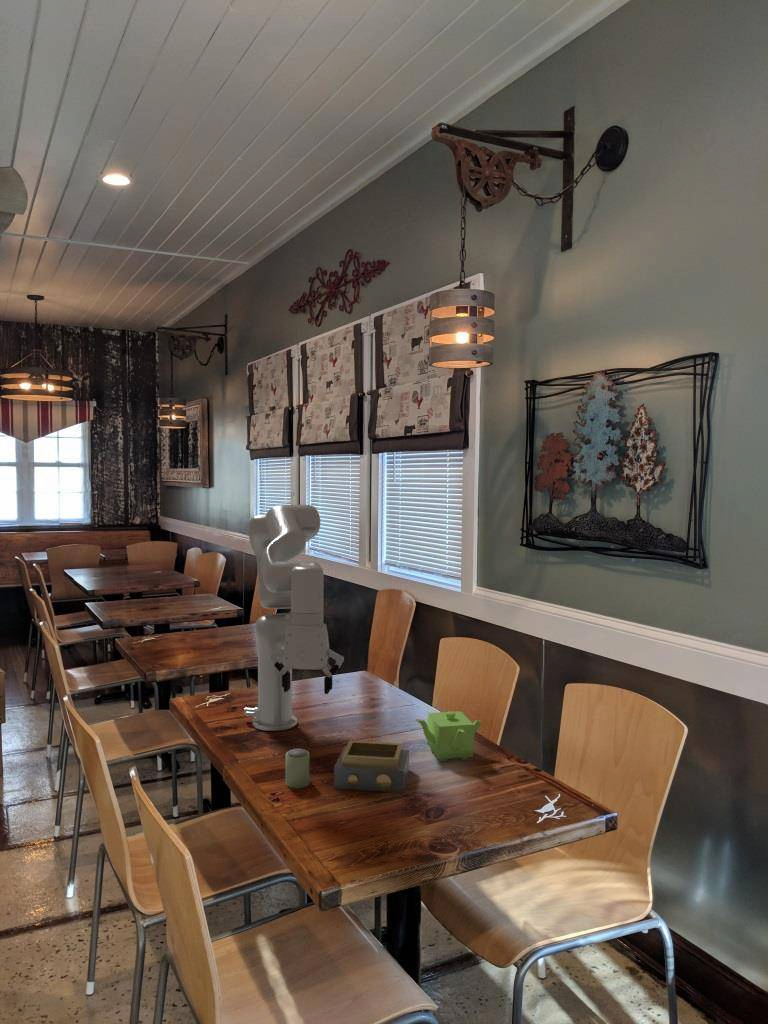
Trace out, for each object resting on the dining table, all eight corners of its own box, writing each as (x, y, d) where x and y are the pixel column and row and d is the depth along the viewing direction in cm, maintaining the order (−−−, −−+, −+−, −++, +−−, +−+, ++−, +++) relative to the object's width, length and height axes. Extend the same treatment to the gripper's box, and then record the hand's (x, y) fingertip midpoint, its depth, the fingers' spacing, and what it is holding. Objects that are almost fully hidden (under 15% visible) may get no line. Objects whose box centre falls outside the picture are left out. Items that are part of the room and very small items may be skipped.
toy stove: (333, 790, 171) (333, 760, 171) (344, 765, 185) (344, 738, 185) (402, 795, 169) (403, 764, 169) (409, 770, 183) (409, 741, 183)
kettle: (462, 771, 183) (463, 726, 182) (411, 759, 190) (411, 716, 189) (487, 751, 196) (487, 709, 195) (438, 741, 203) (438, 700, 202)
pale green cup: (282, 787, 173) (282, 755, 172) (290, 774, 180) (290, 744, 180) (306, 789, 172) (306, 757, 172) (313, 775, 180) (313, 745, 179)
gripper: (266, 620, 172) (266, 694, 173) (340, 623, 170) (340, 698, 171) (275, 614, 180) (275, 685, 181) (346, 617, 177) (346, 688, 178)
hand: (307, 691), depth 176 cm, fingers open, 9 cm apart
